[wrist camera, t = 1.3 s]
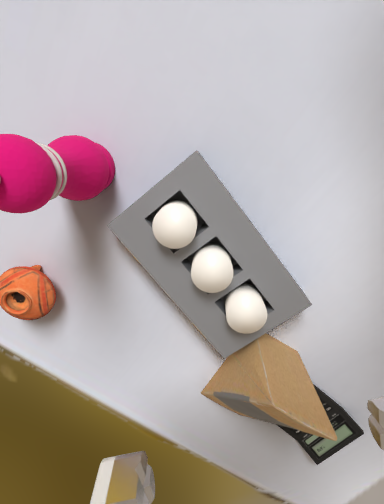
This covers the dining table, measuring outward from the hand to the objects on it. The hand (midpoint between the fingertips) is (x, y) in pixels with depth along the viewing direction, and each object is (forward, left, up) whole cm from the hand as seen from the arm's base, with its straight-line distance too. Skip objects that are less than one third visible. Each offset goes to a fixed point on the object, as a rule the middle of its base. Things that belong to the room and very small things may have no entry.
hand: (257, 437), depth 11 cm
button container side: (+3, +9, -29) cm, 30 cm away
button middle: (+3, +2, -29) cm, 29 cm away
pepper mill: (+8, -17, -31) cm, 36 cm away
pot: (+26, -10, -31) cm, 42 cm away
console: (+3, +2, -31) cm, 31 cm away
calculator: (+7, +34, -31) cm, 47 cm away
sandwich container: (+11, +21, -31) cm, 39 cm away
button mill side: (+3, -5, -28) cm, 29 cm away
